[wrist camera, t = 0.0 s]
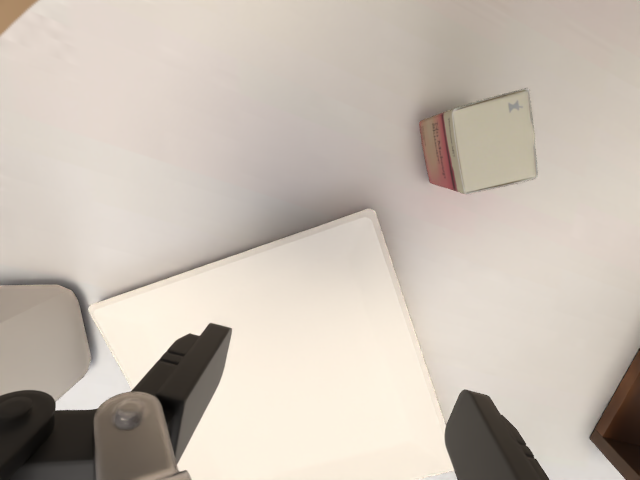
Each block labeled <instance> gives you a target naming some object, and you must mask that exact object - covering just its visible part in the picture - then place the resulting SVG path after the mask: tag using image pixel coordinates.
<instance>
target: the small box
mask: <svg viewBox="0 0 640 480" xmlns="http://www.w3.org/2000/svg"><path fill="white" fill-rule="evenodd" d="M419 126H420V133H421V140H422V146H423V152H424V157H425V162H426V167H427V172H428V177H429V181H430V183H432V184H435V185H438V186H441V187H445V188H448V189H451V190H454V191H457V192H460V193H463V194H470V193H475V192H480V191H484V190H489V189H494V188H499V187H503V186H508V185H512V184H517V183H520V182H525V181H529V180H533V179H535V178H536V177H537V176H538V170H537V158H536V148H535V133H534V126H533V118H532V110H531V101H530V91H529V89H528V88H525V89H521V90H517V91H513V92H509V93H506V94H502V95H498V96H494V97H491V98H487V99H484V100H480V101H477V102H474V103H471V104H467V105H464V106H461V107H458V108H455V109H452V110H449V111H446V112H443V113H441V114H438V115H435V116H432V117H430V118H427V119H424V120H422V121H420V122H419Z"/></svg>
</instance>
